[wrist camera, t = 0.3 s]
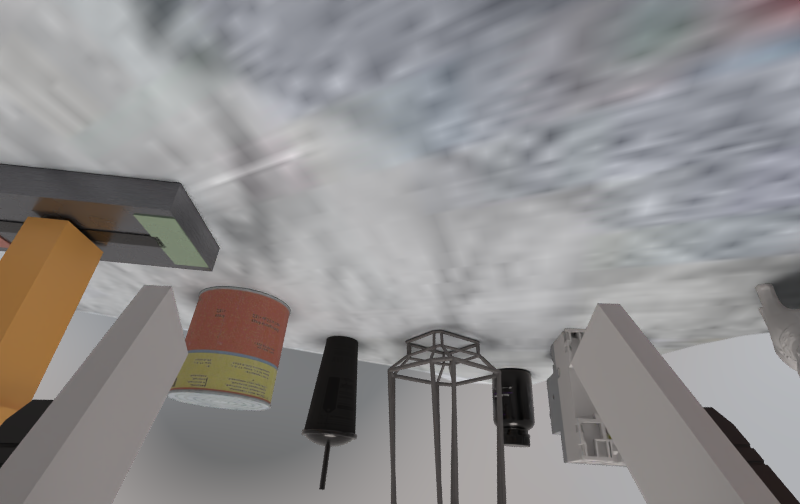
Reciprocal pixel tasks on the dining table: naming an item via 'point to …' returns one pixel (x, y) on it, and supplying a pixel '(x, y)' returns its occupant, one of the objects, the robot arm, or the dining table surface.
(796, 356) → the dog figurine
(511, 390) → the supplement bottle
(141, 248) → the switch plate
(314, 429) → the drinking cup
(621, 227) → the dining table surface
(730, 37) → the dining table surface
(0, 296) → the handle
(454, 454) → the geometric lantern
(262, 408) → the canned food
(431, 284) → the dining table surface
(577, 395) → the circuit breaker
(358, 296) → the dining table surface
